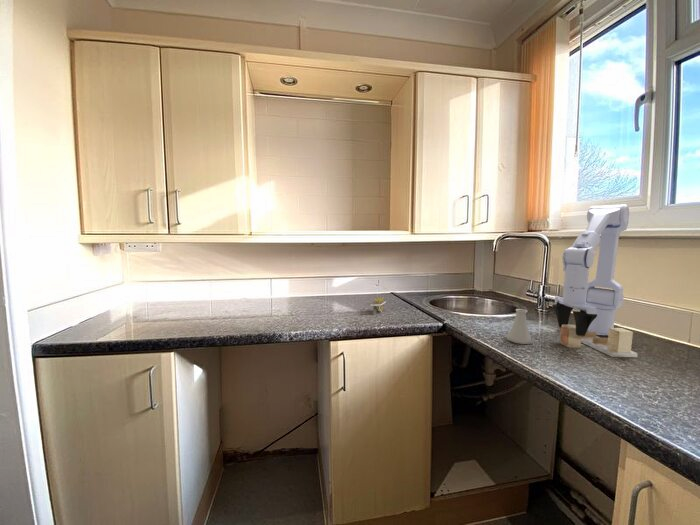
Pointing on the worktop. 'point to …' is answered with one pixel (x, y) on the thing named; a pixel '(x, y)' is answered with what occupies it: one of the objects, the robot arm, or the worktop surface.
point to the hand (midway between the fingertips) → (571, 331)
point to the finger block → (570, 336)
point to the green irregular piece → (378, 305)
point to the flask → (520, 329)
